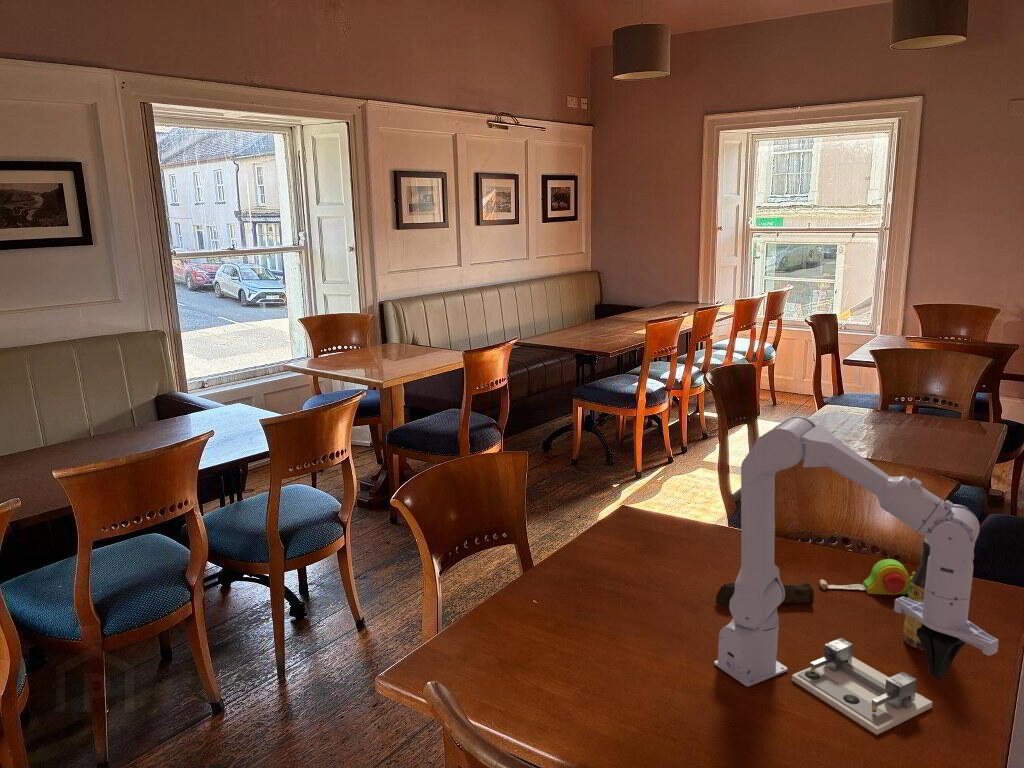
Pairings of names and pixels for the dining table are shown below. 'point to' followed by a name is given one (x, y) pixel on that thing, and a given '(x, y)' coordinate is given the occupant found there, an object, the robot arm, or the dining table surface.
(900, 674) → the grey sliding bolt
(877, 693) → the board
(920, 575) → the sauce bottle
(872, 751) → the dining table surface
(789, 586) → the hand tool
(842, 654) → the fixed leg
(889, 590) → the toy measuring tape
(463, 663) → the dining table surface
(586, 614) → the dining table surface
